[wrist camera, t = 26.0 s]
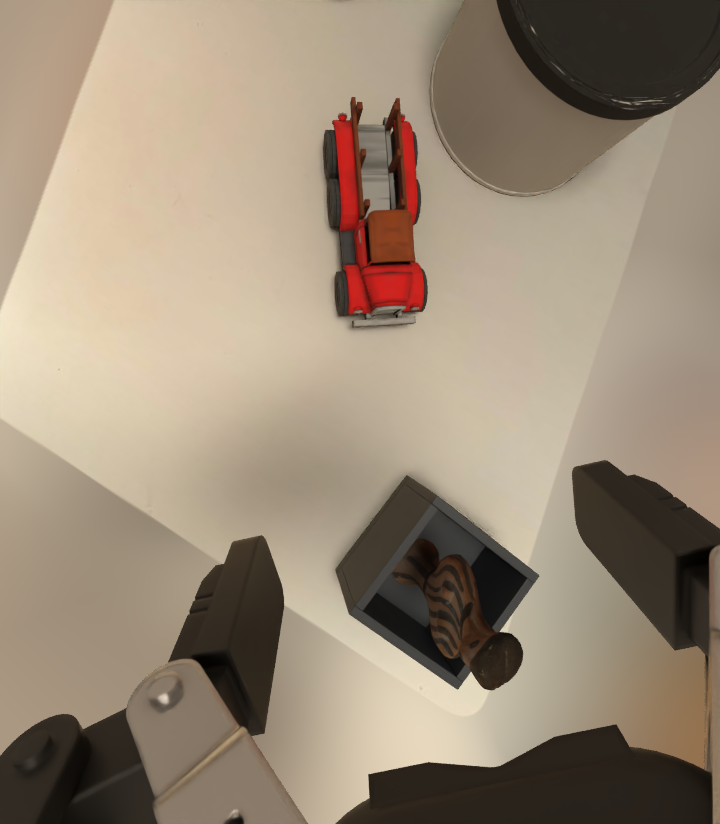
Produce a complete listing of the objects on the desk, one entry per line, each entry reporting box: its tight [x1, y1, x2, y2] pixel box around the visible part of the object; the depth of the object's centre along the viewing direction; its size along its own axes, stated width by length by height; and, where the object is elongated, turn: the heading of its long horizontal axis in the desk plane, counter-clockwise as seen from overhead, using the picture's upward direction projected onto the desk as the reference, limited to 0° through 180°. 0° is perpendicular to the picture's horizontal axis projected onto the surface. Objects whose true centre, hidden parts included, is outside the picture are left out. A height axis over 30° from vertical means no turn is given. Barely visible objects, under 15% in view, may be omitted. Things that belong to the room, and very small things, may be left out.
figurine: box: [392, 539, 523, 690], centre depth 36 cm, size 7×5×18 cm
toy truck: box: [323, 97, 428, 328], centre depth 40 cm, size 8×18×8 cm, turn 5°
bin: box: [336, 476, 539, 690], centre depth 42 cm, size 12×12×9 cm
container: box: [430, 0, 720, 196], centre depth 38 cm, size 19×19×15 cm
